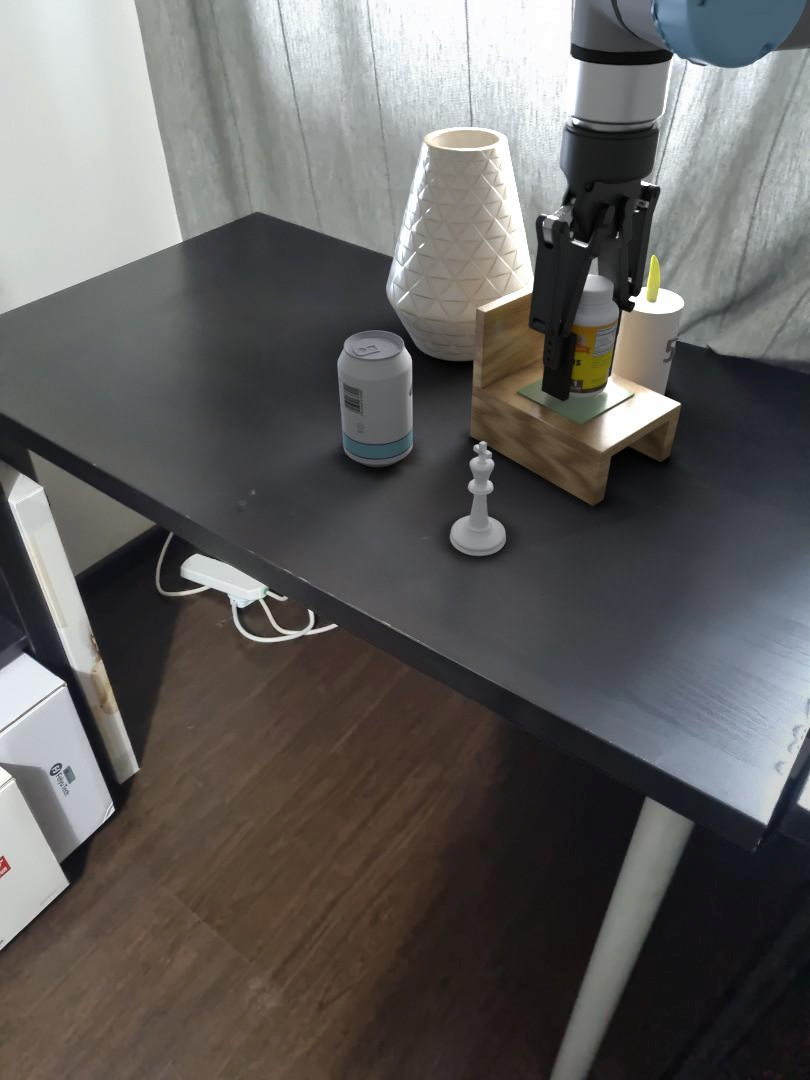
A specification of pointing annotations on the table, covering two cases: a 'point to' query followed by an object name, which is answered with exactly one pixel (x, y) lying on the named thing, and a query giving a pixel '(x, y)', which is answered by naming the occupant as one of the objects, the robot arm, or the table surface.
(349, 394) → the beverage can
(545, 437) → the shelf
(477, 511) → the chess piece
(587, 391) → the supplement bottle
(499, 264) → the vase
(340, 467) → the table surface
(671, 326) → the candle
